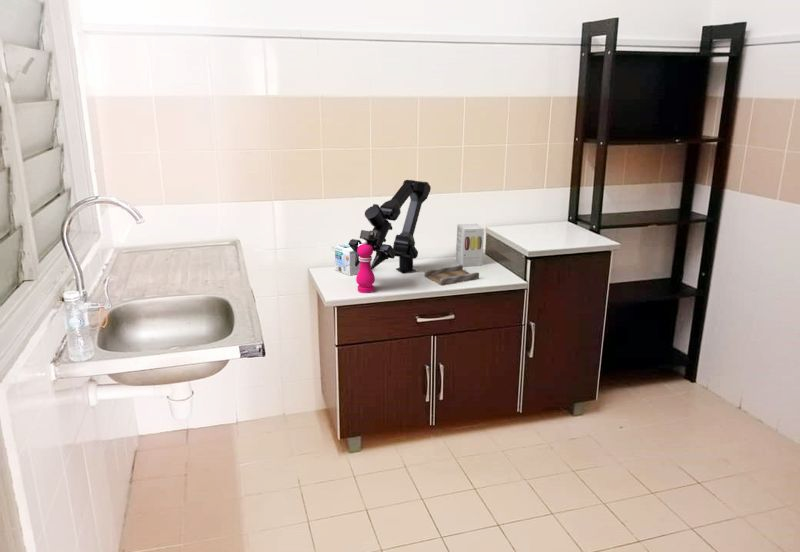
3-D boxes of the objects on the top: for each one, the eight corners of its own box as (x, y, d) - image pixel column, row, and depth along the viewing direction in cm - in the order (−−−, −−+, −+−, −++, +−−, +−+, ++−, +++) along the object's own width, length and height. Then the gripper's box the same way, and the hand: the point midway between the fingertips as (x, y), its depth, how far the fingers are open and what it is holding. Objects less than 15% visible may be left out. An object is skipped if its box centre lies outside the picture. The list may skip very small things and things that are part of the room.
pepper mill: (372, 294, 236) (372, 243, 229) (354, 292, 237) (353, 241, 231) (377, 288, 242) (376, 238, 236) (359, 286, 244) (358, 237, 238)
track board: (441, 285, 246) (441, 279, 245) (424, 276, 257) (424, 270, 256) (478, 278, 254) (479, 273, 253) (461, 270, 265) (461, 265, 264)
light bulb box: (334, 270, 264) (334, 245, 261) (347, 267, 268) (347, 243, 265) (350, 276, 257) (349, 251, 253) (363, 273, 261) (362, 248, 257)
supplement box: (462, 266, 270) (463, 229, 265) (455, 261, 278) (456, 224, 273) (482, 265, 272) (484, 227, 267) (475, 259, 280) (476, 223, 275)
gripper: (350, 218, 239) (334, 252, 234) (391, 224, 230) (375, 260, 225) (362, 234, 248) (346, 267, 243) (402, 240, 239) (387, 275, 233)
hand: (363, 267), depth 236 cm, fingers open, 7 cm apart
